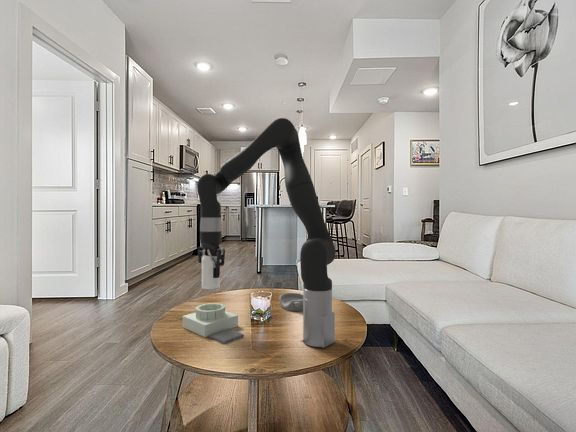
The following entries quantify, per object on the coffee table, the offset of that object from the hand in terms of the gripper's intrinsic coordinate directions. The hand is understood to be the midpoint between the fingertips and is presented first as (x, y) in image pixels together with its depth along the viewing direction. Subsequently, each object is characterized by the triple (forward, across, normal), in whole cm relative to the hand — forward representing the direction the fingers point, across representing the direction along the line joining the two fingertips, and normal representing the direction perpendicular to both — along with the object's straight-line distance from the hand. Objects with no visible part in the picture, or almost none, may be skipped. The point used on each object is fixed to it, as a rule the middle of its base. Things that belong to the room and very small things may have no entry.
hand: (210, 276), depth 113 cm
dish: (+19, -7, -39) cm, 44 cm away
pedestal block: (+18, 0, 0) cm, 18 cm away
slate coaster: (+18, -12, +2) cm, 22 cm away
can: (+4, 0, 0) cm, 4 cm away
